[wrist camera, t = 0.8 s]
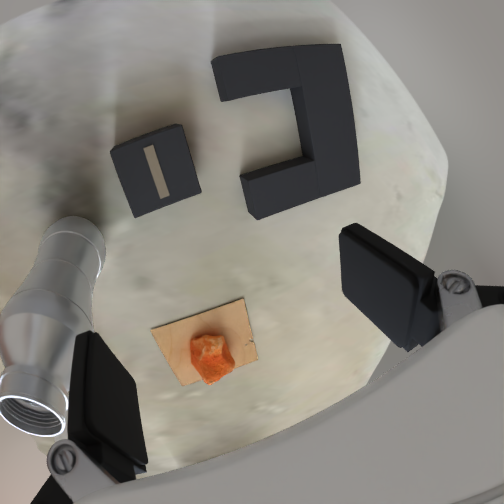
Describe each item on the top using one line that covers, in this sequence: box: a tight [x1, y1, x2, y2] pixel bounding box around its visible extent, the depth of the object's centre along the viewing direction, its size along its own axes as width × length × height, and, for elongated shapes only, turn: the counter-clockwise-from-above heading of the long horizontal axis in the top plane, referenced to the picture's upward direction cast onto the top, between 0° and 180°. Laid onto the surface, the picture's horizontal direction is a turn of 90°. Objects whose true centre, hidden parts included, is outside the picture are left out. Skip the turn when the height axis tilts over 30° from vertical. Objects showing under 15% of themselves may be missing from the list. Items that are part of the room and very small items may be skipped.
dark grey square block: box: [110, 124, 202, 218], centre depth 23 cm, size 6×6×4 cm
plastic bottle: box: [0, 216, 106, 437], centre depth 17 cm, size 6×7×20 cm
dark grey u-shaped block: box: [211, 44, 361, 220], centre depth 27 cm, size 16×13×2 cm
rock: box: [150, 298, 258, 386], centre depth 35 cm, size 12×12×4 cm
